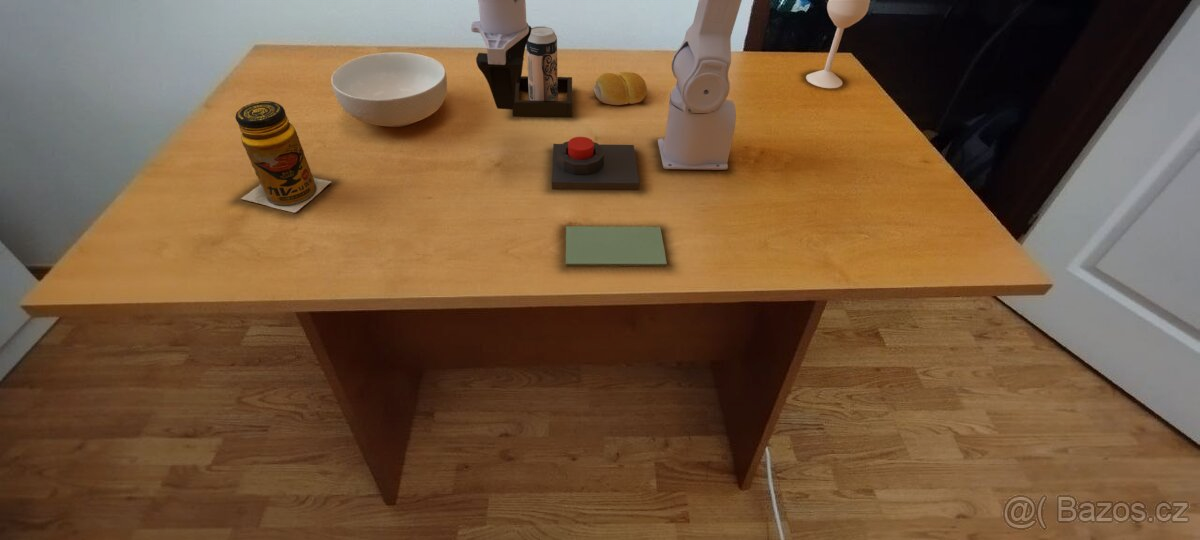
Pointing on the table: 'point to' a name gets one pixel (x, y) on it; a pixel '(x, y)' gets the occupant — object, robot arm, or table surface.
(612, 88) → the bread roll
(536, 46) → the beer can
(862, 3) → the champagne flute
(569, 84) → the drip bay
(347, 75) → the cereal bowl
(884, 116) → the table surface
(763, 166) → the table surface
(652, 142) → the table surface
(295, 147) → the condiment
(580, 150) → the button
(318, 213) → the table surface
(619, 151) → the control block
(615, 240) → the mat
